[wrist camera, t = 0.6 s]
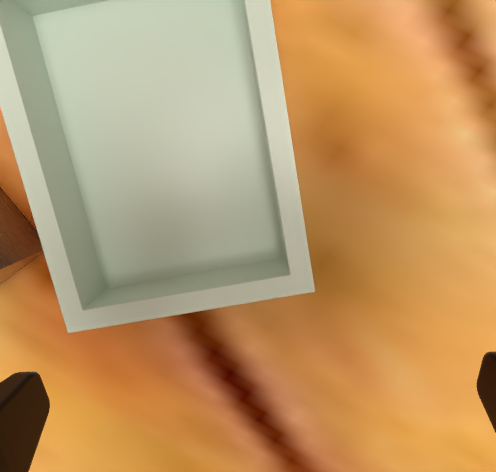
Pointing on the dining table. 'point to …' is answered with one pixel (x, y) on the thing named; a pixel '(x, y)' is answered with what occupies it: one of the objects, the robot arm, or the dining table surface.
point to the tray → (154, 154)
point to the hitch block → (15, 239)
